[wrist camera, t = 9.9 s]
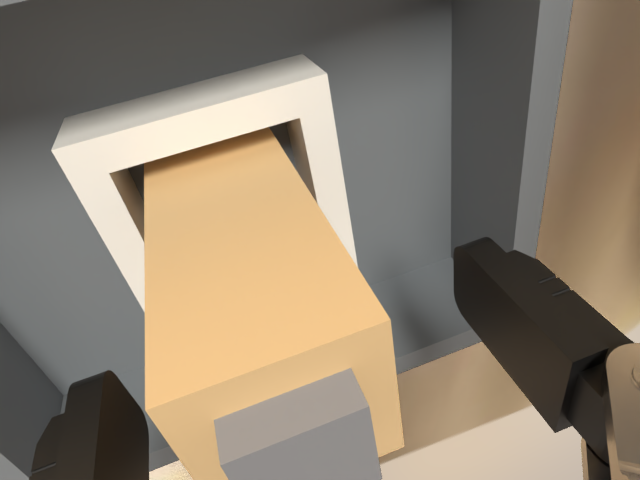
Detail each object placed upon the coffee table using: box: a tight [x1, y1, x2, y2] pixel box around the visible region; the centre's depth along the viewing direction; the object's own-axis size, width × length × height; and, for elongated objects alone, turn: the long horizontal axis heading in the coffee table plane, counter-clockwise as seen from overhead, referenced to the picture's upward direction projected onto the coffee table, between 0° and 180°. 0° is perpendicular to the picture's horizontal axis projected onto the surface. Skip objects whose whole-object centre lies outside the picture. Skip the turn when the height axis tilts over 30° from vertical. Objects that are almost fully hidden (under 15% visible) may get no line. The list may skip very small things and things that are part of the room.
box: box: [0, 0, 573, 480], centre depth 15 cm, size 20×16×5 cm
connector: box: [144, 127, 404, 480], centre depth 12 cm, size 4×4×11 cm
